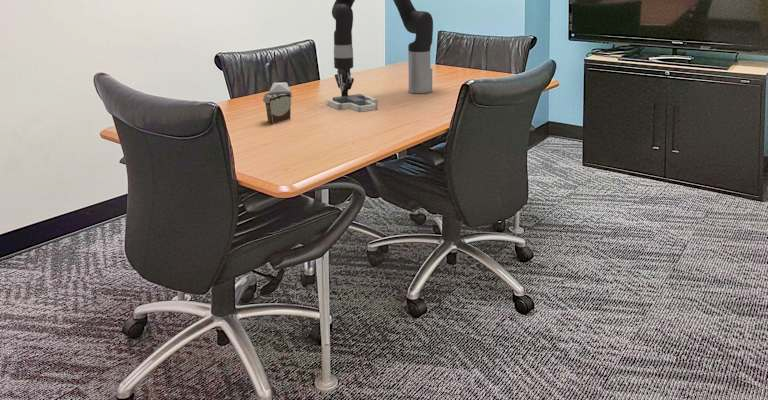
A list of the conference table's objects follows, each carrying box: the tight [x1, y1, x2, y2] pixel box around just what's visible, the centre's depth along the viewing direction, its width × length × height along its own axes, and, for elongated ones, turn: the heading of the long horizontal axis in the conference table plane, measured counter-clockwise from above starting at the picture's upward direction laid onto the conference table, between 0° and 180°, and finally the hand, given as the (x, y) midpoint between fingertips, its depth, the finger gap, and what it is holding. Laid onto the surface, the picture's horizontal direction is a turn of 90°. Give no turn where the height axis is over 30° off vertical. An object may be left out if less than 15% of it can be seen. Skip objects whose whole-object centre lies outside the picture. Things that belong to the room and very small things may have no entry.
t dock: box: [327, 94, 379, 113], centre depth 294 cm, size 17×18×2 cm
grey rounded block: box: [268, 82, 293, 96], centre depth 303 cm, size 8×9×10 cm
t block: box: [332, 93, 365, 106], centre depth 296 cm, size 12×12×3 cm
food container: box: [262, 91, 293, 125], centre depth 272 cm, size 12×6×10 cm, turn 145°
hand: (344, 99), depth 303 cm, fingers closed
